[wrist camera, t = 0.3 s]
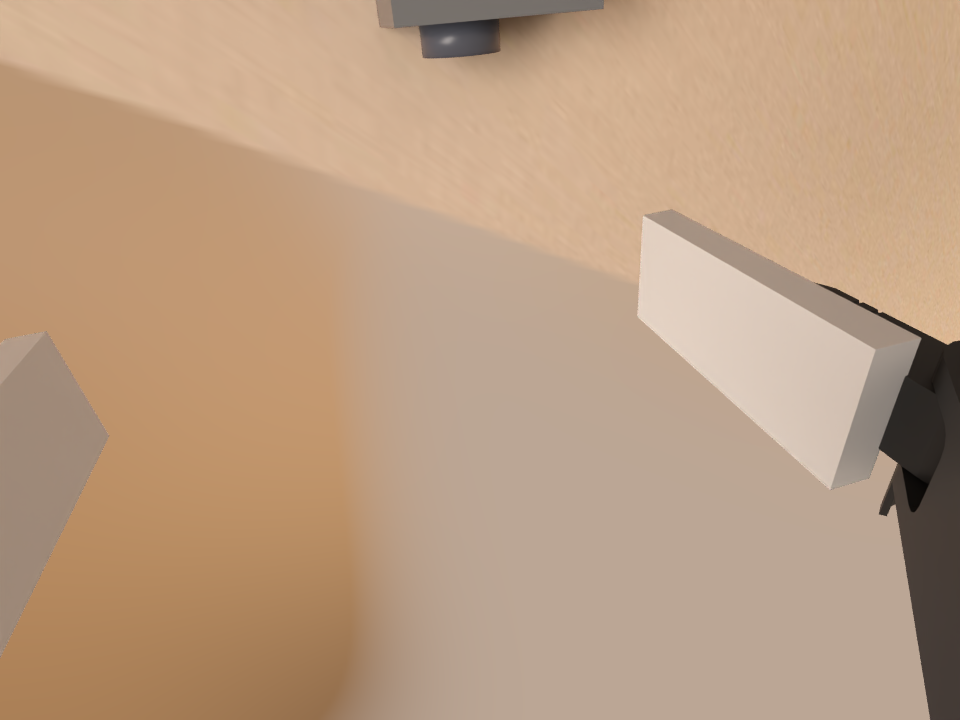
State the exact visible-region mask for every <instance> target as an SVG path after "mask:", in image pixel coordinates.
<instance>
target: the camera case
mask: <svg viewBox="0 0 960 720" xmlns="http://www.w3.org/2000/svg"><path fill="white" fill-rule="evenodd" d="M376 4H377V11H378V18H379V25H380V27H386V28H400V27H411V26H419V29H420V38H421V46H422V55H423V58H451V57H464V56H474V55H482V54H489V53H495V52H499V51H500V33H499V18H509V17H520V16H531V15H542V14H553V13H564V12H575V11H586V10H596V9H603V7H604V0H376Z"/></svg>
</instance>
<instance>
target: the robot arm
mask: <svg viewBox="0 0 960 720" xmlns="http://www.w3.org/2000/svg"><path fill="white" fill-rule="evenodd" d="M638 300H639V301H638V318H639V319H641V320H642V321H643V322H644V323H645V324H646V325H647V326H648V327H649V328H651V329H652V330H653V331H654V332H655V333H656V334H657V335H658V336H659V337H661V338H662V339H663V340H664V341H665V342H666V343H667V344H668V345H670V346H671V347H672V348H673V349H674V350H675V351H676V352H677V353H678V354H679V355H681V356H682V357H683V358H684V359H685V360H686V361H687V362H688V363H690V364H691V365H692V366H693V367H694V368H695V369H696V370H697V371H698V372H700V373H701V374H702V375H703V376H704V377H705V378H706V379H707V380H708V381H709V382H711V383H712V384H713V385H714V386H715V387H716V388H717V389H718V390H719V391H721V392H722V393H723V394H724V395H725V396H726V397H727V398H728V399H729V400H731V401H732V402H733V403H734V404H735V405H736V406H738V407H739V408H740V409H741V410H742V411H743V412H744V413H745V414H746V415H747V416H748V417H749V418H751V419H752V420H753V421H754V422H755V423H756V424H757V425H759V426H760V427H761V428H762V429H763V430H764V431H765V432H766V433H767V434H768V435H770V436H771V437H772V438H773V439H774V440H775V441H776V442H777V443H778V444H780V445H781V446H782V447H783V448H784V449H785V450H786V451H787V452H788V453H790V454H791V455H792V456H793V457H794V458H795V459H796V460H797V461H798V462H800V463H801V464H802V465H803V466H804V467H805V468H806V469H807V470H808V471H810V472H811V473H812V474H813V475H814V476H815V477H816V478H817V479H819V480H820V481H821V482H822V483H823V484H824V485H825V486H826V487H827V488H828V489H830V490H832V489H835V488H838V487H842V486H845V485H849V484H852V483H855V482H859V481H862V480H866V479H869V478H870V475H871V472H872V470H873V467H874V464H875V461H876V459H877V456H878V454H879V450H881V451H882V452H884V453H885V454H887V455H888V456H889V457H890V458H892V459H893V460H894V461H896V462H897V463H898V464H897V466H896V469H895V472H894V474H893V476H892V479H891V481H890V484H889V486H888V489H887V491H886V494H885V496H884V499H883V501H882V504H881V507H880V512H879V514H880V515H884V516H887V514H888V512H889V510H890V507H891V506H892V505H895V504H896V510H897V516H898V522H899V528H900V535H901V541H902V547H903V553H904V559H905V565H906V572H907V578H908V584H909V590H910V597H911V602H912V609H913V615H914V621H915V628H916V634H917V640H918V646H919V652H920V659H921V665H922V671H923V677H924V683H925V689H926V695H927V702H928V708H929V714H930V720H960V341H954V342H952V343H950V344H949V345H947V344H945V343H943V342H941V341H939V340H937V339H935V338H933V337H931V336H929V335H927V334H925V333H923V332H921V331H919V330H917V329H915V328H913V327H911V326H909V325H907V324H905V323H903V322H901V321H899V320H897V319H895V318H893V317H891V316H889V315H887V314H885V313H883V312H881V313H878V310H877V309H875V308H873V307H871V306H869V305H867V304H865V303H859V300H858V299H856V298H854V297H852V296H850V295H848V294H846V293H844V292H842V291H840V290H838V289H836V288H832V287H829V286H825V285H821V284H818V283H814V282H812V281H810V280H808V279H806V278H804V277H802V276H800V275H798V274H796V273H794V272H792V271H790V270H788V269H787V268H785V267H783V266H781V265H779V264H777V263H775V262H773V261H771V260H769V259H767V258H765V257H763V256H761V255H759V254H757V253H755V252H754V251H752V250H750V249H748V248H746V247H744V246H742V245H740V244H738V243H736V242H734V241H732V240H730V239H728V238H726V237H724V236H722V235H721V234H719V233H717V232H715V231H713V230H711V229H709V228H707V227H705V226H703V225H701V224H699V223H697V222H695V221H693V220H691V219H690V218H688V217H686V216H684V215H682V214H680V213H678V212H676V211H674V210H667V211H662V212H657V213H652V214H647V215H643V226H642V244H641V262H640V281H639V299H638ZM108 437H109V435H108V433H107V432H106V430H105V428H104V426H103V425H102V423H101V421H100V420H99V418H98V416H97V415H96V413H95V411H94V410H93V408H92V406H91V405H90V403H89V401H88V400H87V398H86V396H85V395H84V393H83V391H82V389H81V388H80V386H79V385H78V383H77V381H76V379H75V378H74V376H73V375H72V373H71V371H70V369H69V368H68V366H67V364H66V363H65V361H64V360H63V358H62V356H61V354H60V353H59V351H58V349H57V348H56V346H55V344H54V343H53V341H52V339H51V338H50V336H49V334H48V333H47V331H45V332H40V333H35V334H30V335H25V336H19V337H15V338H9V339H5V340H4V341H3V342H2V343H1V344H0V657H1V655H2V653H3V651H4V648H5V647H6V644H7V643H8V640H9V639H10V636H11V635H12V632H13V630H14V628H15V626H16V624H17V622H18V620H19V618H20V616H21V614H22V612H23V610H24V608H25V606H26V604H27V602H28V600H29V598H30V596H31V594H32V592H33V590H34V588H35V586H36V584H37V582H38V580H39V578H40V576H41V573H42V571H43V569H44V567H45V565H46V563H47V561H48V559H49V557H50V555H51V553H52V551H53V549H54V547H55V545H56V543H57V541H58V539H59V537H60V535H61V533H62V531H63V529H64V527H65V525H66V523H67V521H68V519H69V516H70V515H71V512H72V511H73V508H74V506H75V504H76V502H77V500H78V498H79V496H80V494H81V492H82V490H83V488H84V486H85V484H86V482H87V480H88V478H89V476H90V474H91V472H92V470H93V468H94V466H95V464H96V462H97V460H98V458H99V456H100V454H101V452H102V450H103V448H104V445H105V443H106V441H107V439H108Z"/></svg>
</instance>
